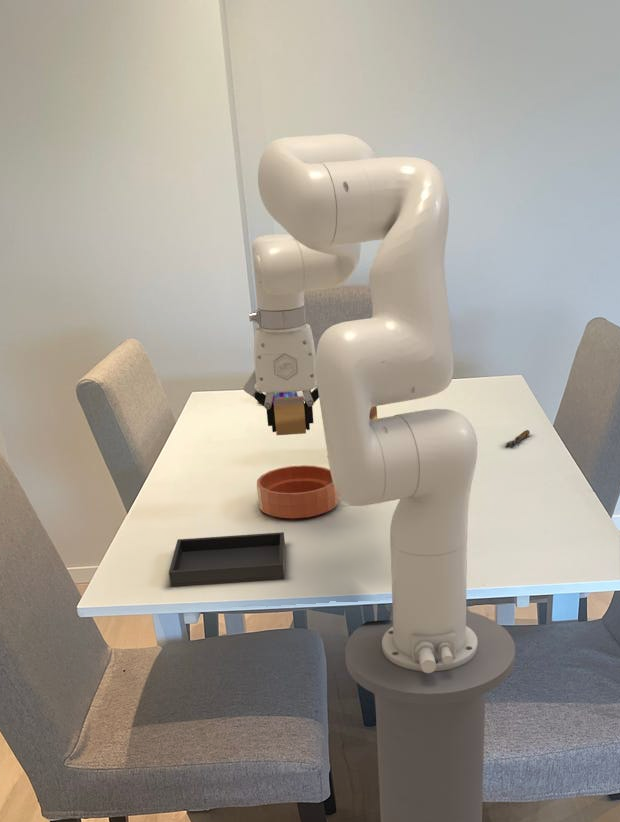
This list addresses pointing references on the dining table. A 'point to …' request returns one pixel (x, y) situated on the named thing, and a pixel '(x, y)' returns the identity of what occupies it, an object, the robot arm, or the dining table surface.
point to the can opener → (519, 438)
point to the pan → (228, 559)
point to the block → (289, 415)
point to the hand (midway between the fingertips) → (291, 427)
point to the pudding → (286, 394)
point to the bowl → (297, 492)
